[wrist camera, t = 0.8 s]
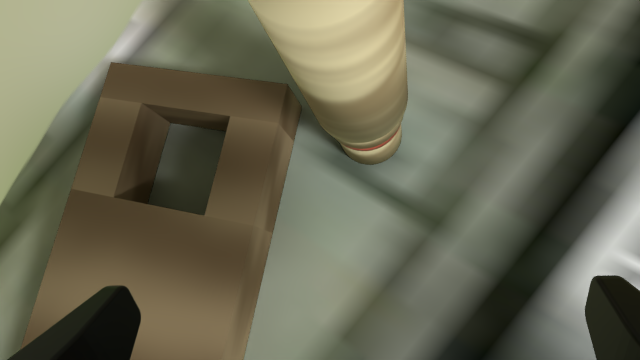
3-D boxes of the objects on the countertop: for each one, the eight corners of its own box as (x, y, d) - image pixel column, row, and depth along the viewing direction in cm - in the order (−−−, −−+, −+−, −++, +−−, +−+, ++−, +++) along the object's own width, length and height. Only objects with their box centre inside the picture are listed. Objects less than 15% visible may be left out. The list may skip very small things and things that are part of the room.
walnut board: (187, 601, 21) (151, 649, 19) (9, 527, 24) (-47, 559, 21) (302, 107, 26) (287, 84, 23) (142, 85, 28) (111, 62, 25)
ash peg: (402, 178, 24) (383, 34, 10) (325, 165, 25) (218, 19, 11) (415, 104, 25) (414, -119, 11) (341, 94, 26) (257, -122, 12)
